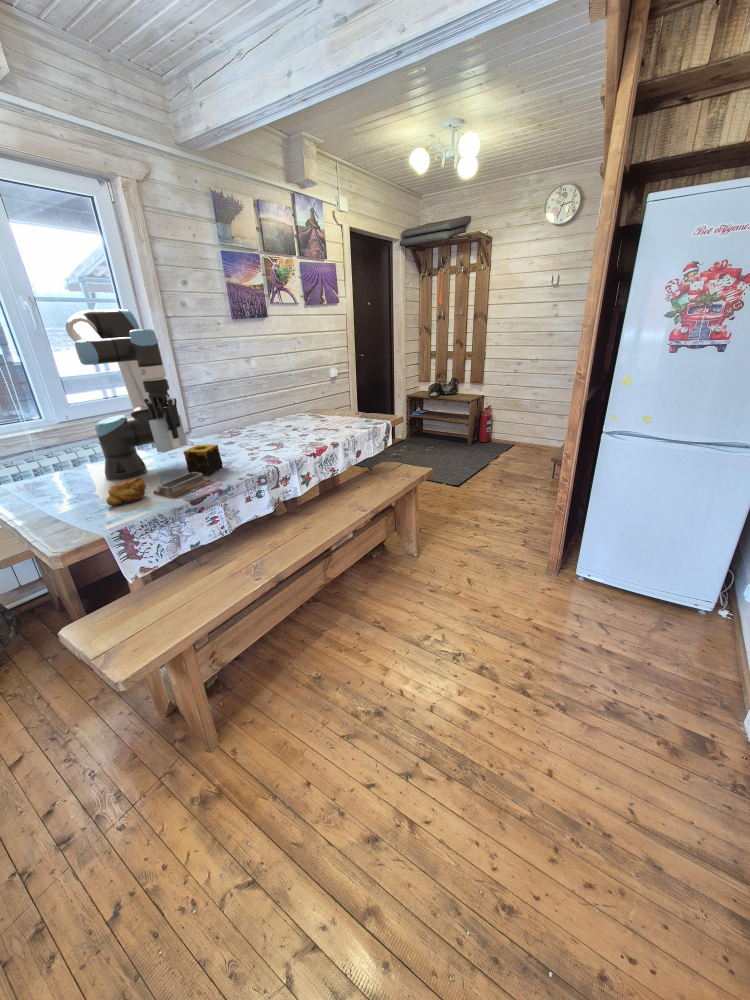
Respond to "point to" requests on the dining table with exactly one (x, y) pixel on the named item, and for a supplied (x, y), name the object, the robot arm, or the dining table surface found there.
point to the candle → (203, 459)
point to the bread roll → (126, 492)
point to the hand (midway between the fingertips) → (172, 446)
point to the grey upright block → (165, 435)
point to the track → (181, 485)
